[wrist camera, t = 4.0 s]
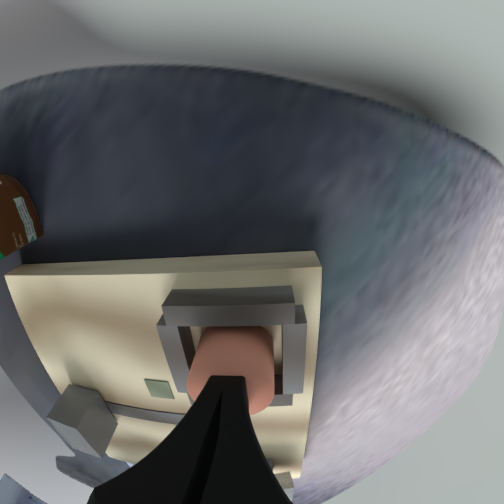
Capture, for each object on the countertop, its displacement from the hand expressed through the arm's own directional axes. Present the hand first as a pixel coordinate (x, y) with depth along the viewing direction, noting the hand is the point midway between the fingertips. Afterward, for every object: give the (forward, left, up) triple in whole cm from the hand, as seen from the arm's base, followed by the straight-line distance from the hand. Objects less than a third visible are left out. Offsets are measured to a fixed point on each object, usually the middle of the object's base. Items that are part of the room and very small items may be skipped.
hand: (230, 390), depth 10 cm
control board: (-7, +6, -5) cm, 11 cm away
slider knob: (-7, +12, -3) cm, 14 cm away
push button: (0, 0, -3) cm, 3 cm away
